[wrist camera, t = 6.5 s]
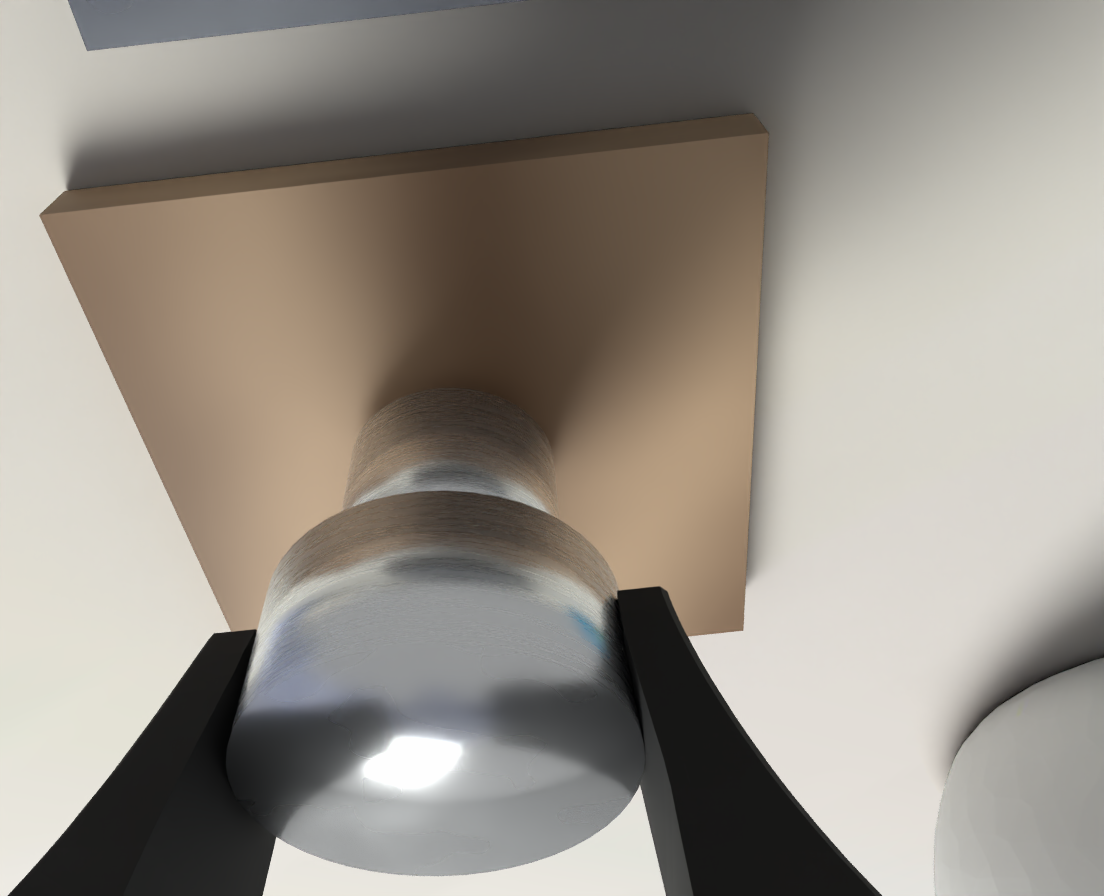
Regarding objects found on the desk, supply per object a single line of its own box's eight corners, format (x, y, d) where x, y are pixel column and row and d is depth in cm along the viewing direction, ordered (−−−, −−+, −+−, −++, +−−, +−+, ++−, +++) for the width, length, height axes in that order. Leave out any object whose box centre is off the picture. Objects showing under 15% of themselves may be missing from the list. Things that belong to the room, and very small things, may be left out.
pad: (263, 647, 21) (254, 681, 20) (64, 190, 14) (39, 215, 13) (733, 597, 21) (743, 630, 20) (753, 112, 14) (769, 132, 13)
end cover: (338, 582, 17) (285, 890, 13) (271, 360, 14) (165, 665, 10) (602, 559, 18) (643, 859, 13) (594, 333, 14) (647, 624, 10)
